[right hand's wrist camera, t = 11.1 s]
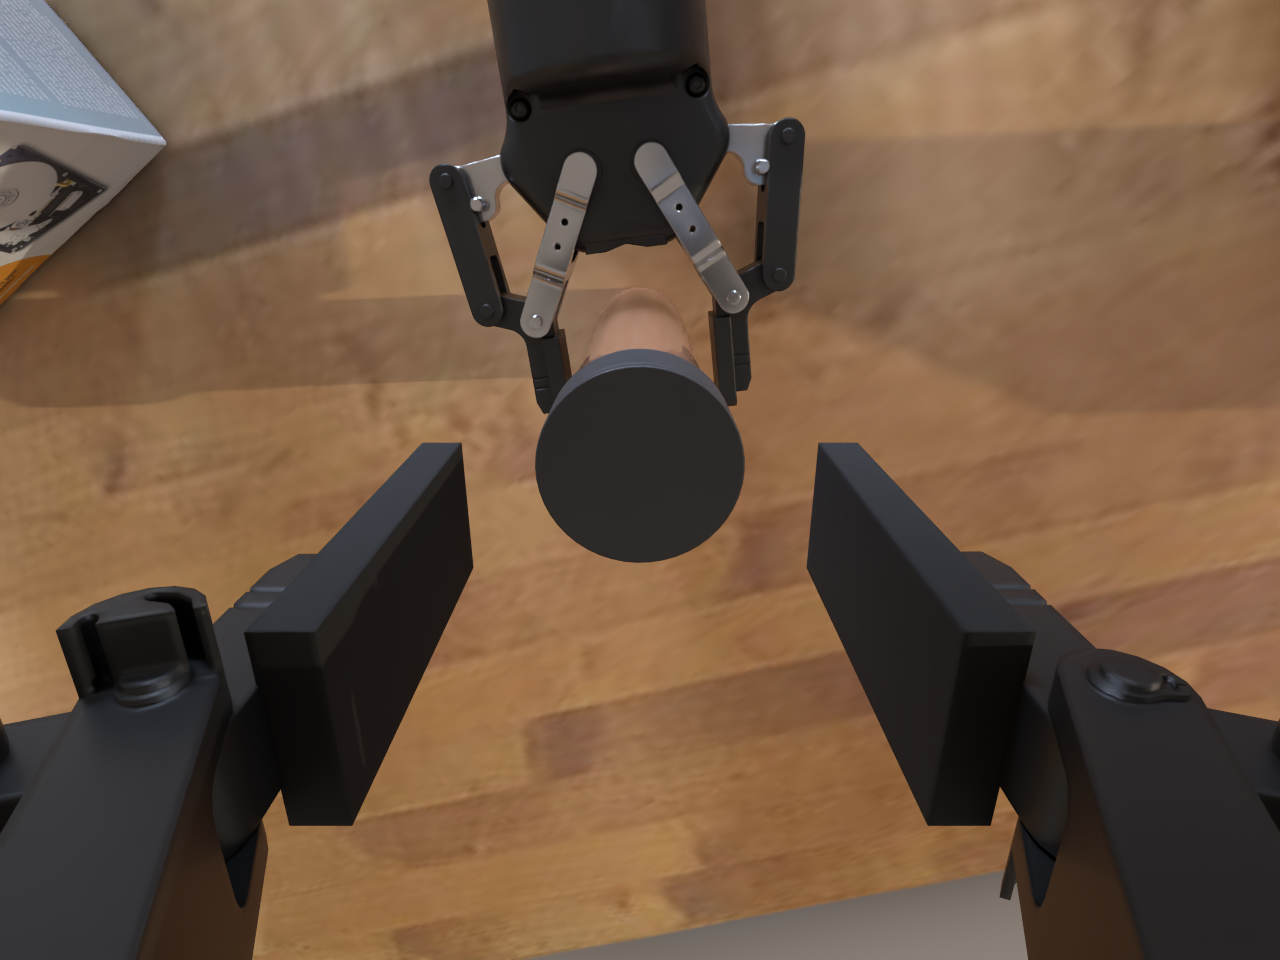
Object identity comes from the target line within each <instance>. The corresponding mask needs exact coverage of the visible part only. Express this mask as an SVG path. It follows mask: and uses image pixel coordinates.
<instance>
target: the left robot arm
mask: <svg viewBox="0 0 1280 960" xmlns="http://www.w3.org/2000/svg"><path fill="white" fill-rule="evenodd" d="M487 2H488V8H489V13H490V19H491V25H492V31H493V37H494V43H495V49H496V55H497V60H498V66H499V72H500V78H501V84H502V90H503V96H504V102H505V107H506V115H507V128H506V135H505V139H504V142H503V145H502V148H501V154H500V155H499V156H495V157H492V158H488V159H484V160H481V161H477V162H474V163H470V164H466V165H463V166H454V165H450V164H439V165H437V166H436V167H435V168H434V169H433V170H432V171H431V174H430V179H429V181H430V186H431V189H432V192H433V195H434V198H435V202H436V205H437V208H438V211H439V214H440V217H441V220H442V223H443V226H444V229H445V232H446V235H447V238H448V241H449V245H450V248H451V251H452V254H453V257H454V260H455V263H456V266H457V269H458V272H459V275H460V278H461V281H462V284H463V287H464V291H465V294H466V297H467V300H468V303H469V306H470V309H471V312H472V315H473V317H474V319H475V320H476V322H477V323H479V324H480V325H482V326H486V327H491V326H496V327H501V328H505V329H509V330H513V331H515V332H517V333H518V334H520V335H521V336H522V337H523V339H524V340H525V342H526V345H527V350H528V356H529V361H530V367H531V372H532V378H533V383H534V388H535V394H536V400H537V404H538V405H539V407H540V408H541V410H542V412H543V413H544V414H546V413H549V412H550V410H551V408H552V406H553V404H554V402H555V400H556V398H557V396H558V394H559V392H560V391H561V389H562V388H563V386H564V385H565V384H566V383H567V382H568V380H569V379H570V378H571V377H572V374H571V368H570V361H569V355H568V349H567V343H566V336H565V330H564V329H559V327H558V321H557V318H558V315H559V311H560V308H561V305H562V302H563V299H564V296H565V292H566V289H567V286H568V283H569V280H570V278H571V275H572V272H573V269H574V266H575V263H576V260H577V257H578V254H579V251H580V252H584V253H586V255H587V254H595V253H603V252H607V251H610V250H612V249H614V248H617V247H619V246H621V245H624V244H632V245H639V246H646V247H649V246H657V245H665V244H667V242H669V241H671V240H673V239H675V238H676V239H677V241H678V242H679V244H680V246H681V247H682V249H683V250H684V252H685V254H686V255H687V257H688V258H689V260H690V262H691V263H692V265H693V266H694V268H695V269H696V271H697V273H698V274H699V276H700V277H701V279H702V281H703V282H704V284H705V285H706V287H707V289H708V290H709V292H710V294H711V295H712V303H713V311H708V317H709V328H710V340H711V351H712V363H713V375H714V384H715V385H716V387H717V388H718V389H719V391H720V393H721V394H722V396H723V397H724V399H725V401H726V404H727V406H735V405H737V396H736V391H744V390H747V389H748V386H749V383H750V380H751V365H750V350H749V335H748V313H749V310H750V308H751V306H752V305H753V304H754V303H755V302H756V301H758V300H759V299H761V298H763V297H765V296H767V295H769V294H771V293H773V292H775V291H783V290H785V289H787V288H788V287H789V286H790V285H791V284H792V282H793V281H794V277H795V266H796V252H797V238H798V225H799V211H800V197H801V184H802V170H803V156H804V142H805V131H804V127H803V125H802V124H801V123H800V122H799V121H798V120H797V119H794V118H784V119H782V120H779V121H777V122H776V123H773V124H728V123H727V121H726V119H725V117H724V115H723V114H722V112H721V111H720V109H719V107H718V105H717V103H716V101H715V98H714V94H713V90H712V83H711V71H710V58H709V45H708V31H707V18H706V5H705V0H487ZM726 153H728V154H731V155H733V156H735V157H736V158H737V159H738V161H739V163H740V166H741V173H742V176H743V179H744V180H745V181H746V182H747V183H748V184H750V185H753V186H758V198H757V217H756V236H755V255H754V262H753V263H751V264H749V265H747V266H746V267H744V268H742V269H740V270H738V271H736V270H735V268H734V266H733V265H732V263H731V261H730V260H729V258H728V256H727V255H726V253H725V251H724V249H723V247H722V245H721V243H720V241H719V239H718V238H717V236H716V234H715V233H714V231H713V229H712V228H711V226H710V224H709V223H708V221H707V219H706V218H705V216H704V214H703V213H702V211H701V209H700V208H699V206H698V205H699V203H700V201H701V199H702V198H703V196H704V194H705V192H706V190H707V188H708V187H709V185H710V183H711V181H712V179H713V177H714V175H715V174H716V172H717V170H718V168H719V166H720V164H721V163H722V161H723V159H724V157H725V155H726ZM508 183H510V185H511V186H512V187H513V188H514V189H515V190H516V191H517V192H518V193H519V194H520V195H521V197H522V198H523V199H524V200H525V201H526V202H527V203H528V204H529V205H530V206H531V207H532V209H533V210H534V211H535V212H536V213H537V214H538V215H539V216H540V217H541V218H542V219H543V220H544V222H545V223H546V224H547V225H546V228H545V232H544V235H543V239H542V242H541V245H540V249H539V252H538V255H537V259H536V262H535V266H534V271H533V278H532V281H531V284H530V288H529V291H528V295H527V297H525V296H520V295H516V294H512V293H510V290H509V287H508V284H507V280H506V277H505V274H504V270H503V267H502V264H501V261H500V257H499V254H498V251H497V247H496V244H495V241H494V237H493V234H492V231H491V228H490V224H489V221H492V220H493V219H495V218H496V217H497V216H498V214H499V212H500V192H501V190H502V188H503V187H504V186H505V185H506V184H508ZM689 227H690V228H689Z"/></svg>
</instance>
